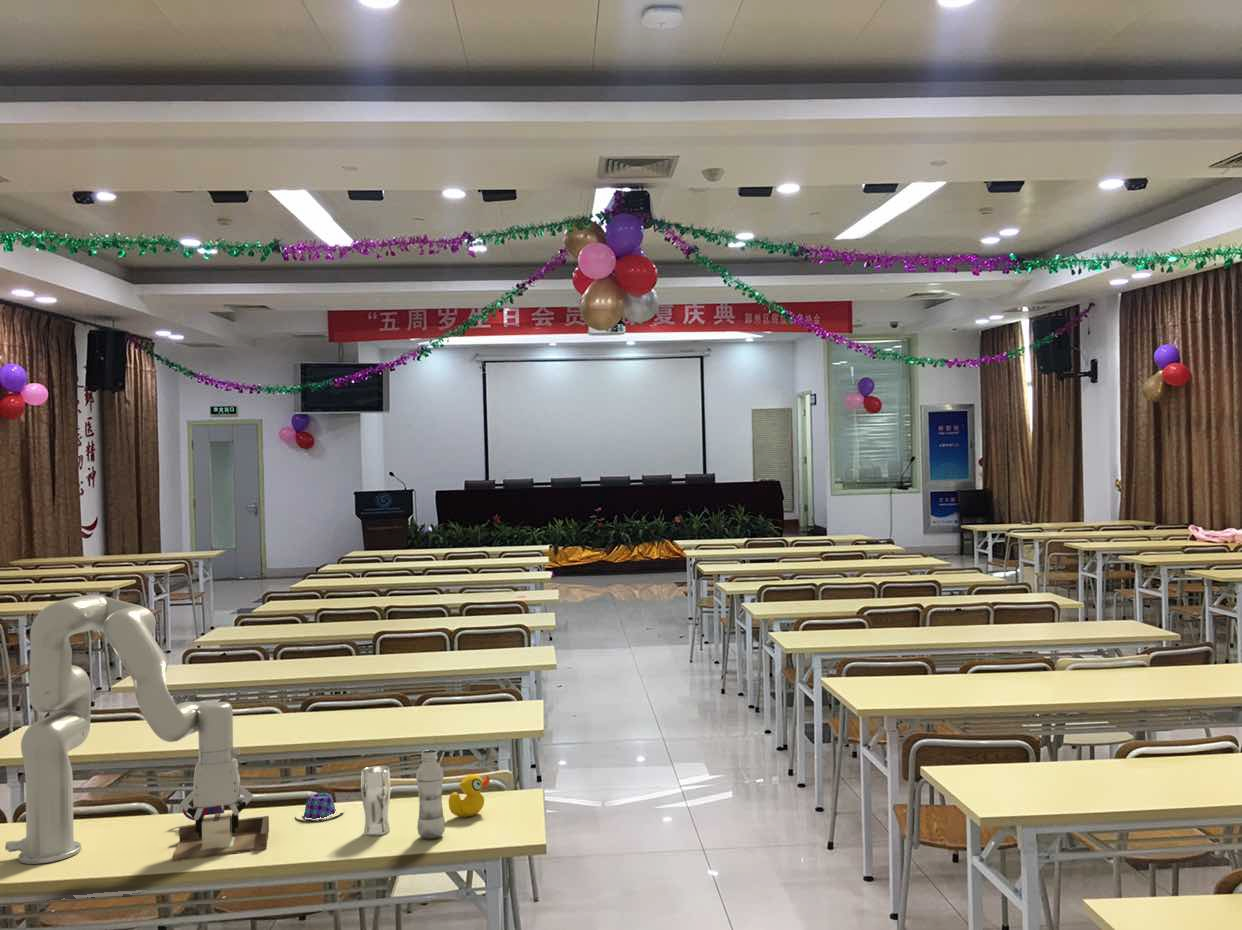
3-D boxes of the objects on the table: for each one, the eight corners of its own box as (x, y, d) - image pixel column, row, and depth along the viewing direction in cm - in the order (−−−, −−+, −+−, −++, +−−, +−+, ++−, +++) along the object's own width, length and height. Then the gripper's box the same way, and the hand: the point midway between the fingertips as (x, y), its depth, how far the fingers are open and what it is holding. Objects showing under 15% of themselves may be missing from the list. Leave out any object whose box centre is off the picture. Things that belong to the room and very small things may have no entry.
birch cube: (204, 841, 234) (204, 815, 234) (232, 837, 236) (231, 811, 236) (202, 849, 228) (201, 822, 229) (230, 845, 230) (229, 819, 230)
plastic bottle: (450, 833, 236) (448, 748, 237) (437, 843, 230) (435, 755, 230) (425, 831, 238) (423, 747, 239) (412, 841, 231) (410, 754, 232)
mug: (216, 827, 246) (216, 800, 247) (177, 828, 247) (177, 800, 247) (229, 819, 253) (228, 792, 253) (191, 819, 254) (191, 792, 254)
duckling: (485, 808, 255) (484, 768, 255) (495, 813, 251) (494, 773, 251) (445, 817, 248) (444, 777, 249) (455, 822, 244) (453, 781, 244)
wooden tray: (172, 861, 223) (172, 845, 223) (180, 841, 237) (179, 826, 237) (266, 849, 229) (266, 833, 229) (268, 830, 243) (268, 815, 243)
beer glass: (381, 838, 234) (379, 774, 235) (356, 835, 236) (354, 772, 237) (397, 828, 241) (395, 766, 241) (372, 826, 243) (371, 764, 244)
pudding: (353, 811, 257) (353, 790, 257) (324, 825, 246) (324, 804, 246) (315, 807, 262) (315, 787, 262) (285, 821, 250) (284, 800, 251)
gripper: (256, 748, 239) (257, 823, 238) (178, 756, 234) (179, 833, 233) (254, 756, 232) (255, 833, 231) (173, 764, 227) (175, 843, 226)
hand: (217, 832), depth 232 cm, fingers open, 6 cm apart
